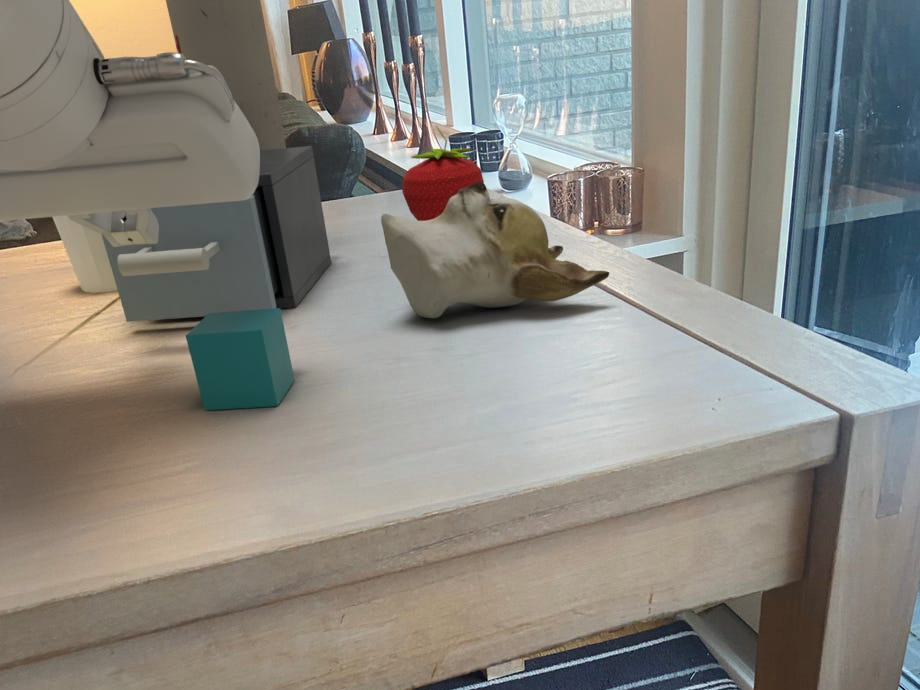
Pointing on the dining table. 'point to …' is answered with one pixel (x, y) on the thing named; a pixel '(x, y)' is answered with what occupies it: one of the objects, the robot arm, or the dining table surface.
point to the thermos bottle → (233, 57)
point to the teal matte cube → (241, 359)
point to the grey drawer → (200, 262)
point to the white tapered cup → (86, 255)
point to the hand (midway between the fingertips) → (137, 235)
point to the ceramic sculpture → (480, 256)
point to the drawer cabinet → (294, 220)
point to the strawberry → (438, 181)
